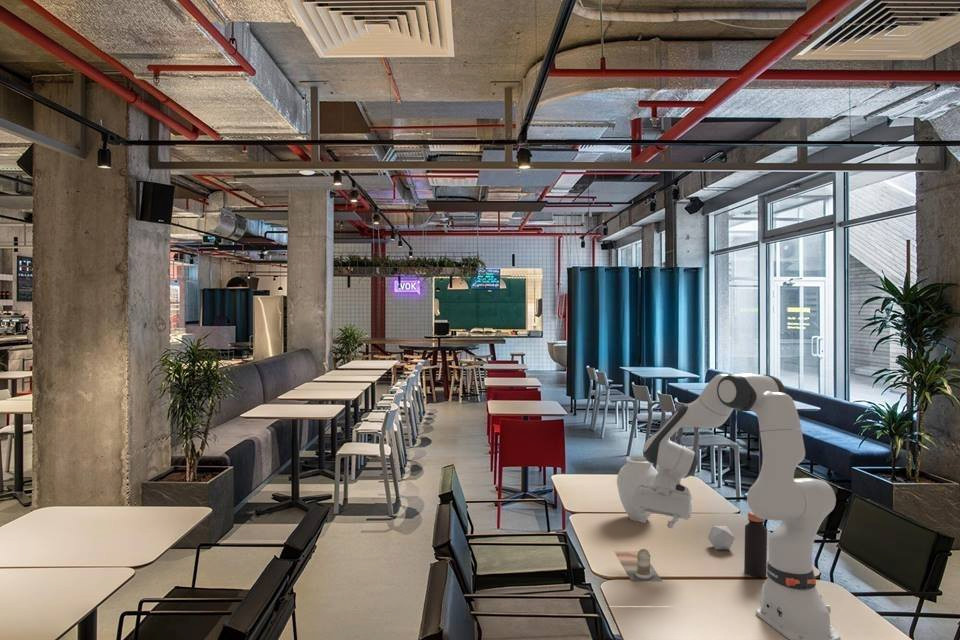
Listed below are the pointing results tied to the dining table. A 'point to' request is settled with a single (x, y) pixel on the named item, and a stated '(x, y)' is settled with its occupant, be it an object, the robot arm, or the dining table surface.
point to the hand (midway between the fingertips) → (655, 524)
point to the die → (721, 537)
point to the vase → (634, 483)
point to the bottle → (755, 546)
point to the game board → (634, 565)
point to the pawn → (643, 565)
